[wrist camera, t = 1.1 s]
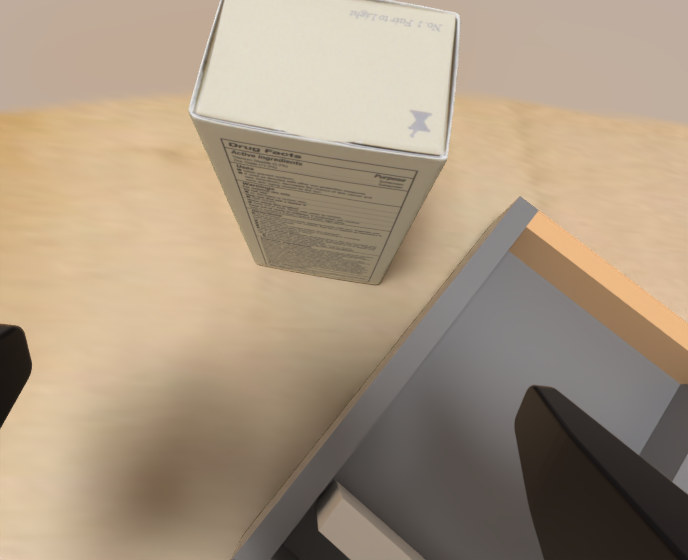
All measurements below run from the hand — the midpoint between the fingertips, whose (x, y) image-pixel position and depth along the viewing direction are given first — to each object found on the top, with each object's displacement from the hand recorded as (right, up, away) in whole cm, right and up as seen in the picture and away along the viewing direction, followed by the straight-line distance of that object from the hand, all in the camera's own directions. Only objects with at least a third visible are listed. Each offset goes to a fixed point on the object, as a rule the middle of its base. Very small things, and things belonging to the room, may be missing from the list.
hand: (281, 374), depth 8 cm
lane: (+7, -6, +12) cm, 16 cm away
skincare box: (0, +4, +15) cm, 15 cm away
